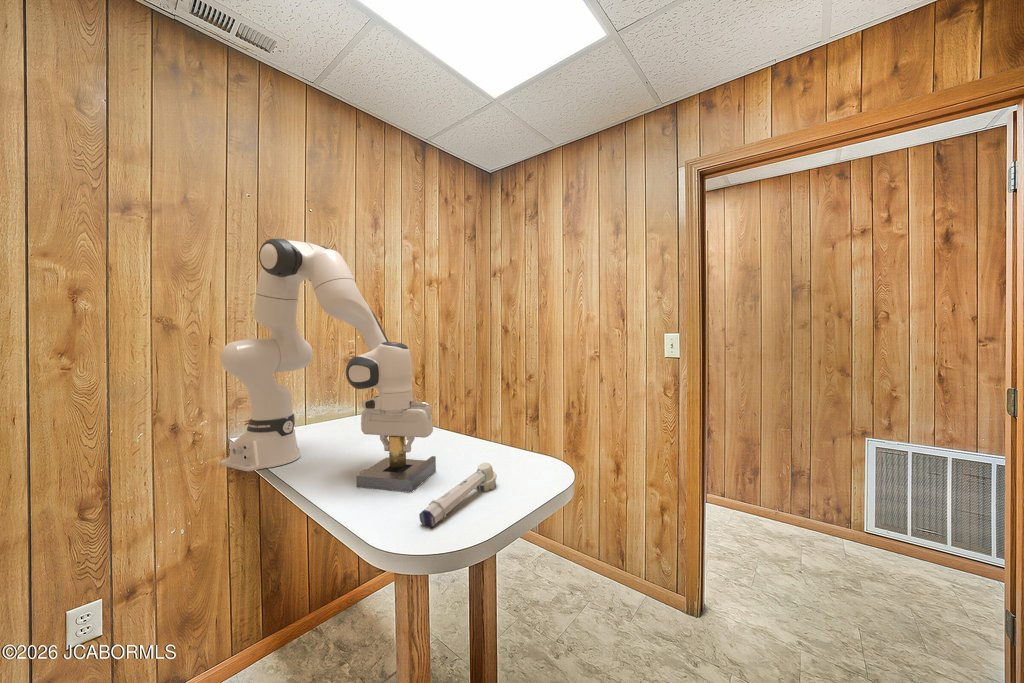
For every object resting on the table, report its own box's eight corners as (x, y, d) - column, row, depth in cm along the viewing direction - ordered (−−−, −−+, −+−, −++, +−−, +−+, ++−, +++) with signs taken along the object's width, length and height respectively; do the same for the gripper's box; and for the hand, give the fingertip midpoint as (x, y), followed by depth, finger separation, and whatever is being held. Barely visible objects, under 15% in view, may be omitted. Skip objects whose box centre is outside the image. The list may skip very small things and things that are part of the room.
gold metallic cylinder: (386, 466, 99) (385, 437, 99) (395, 461, 104) (394, 432, 104) (400, 467, 98) (400, 438, 98) (409, 462, 103) (408, 433, 102)
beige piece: (415, 507, 77) (482, 455, 98) (419, 536, 78) (484, 478, 99) (434, 513, 75) (499, 458, 96) (438, 543, 76) (501, 482, 97)
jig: (356, 486, 96) (355, 470, 96) (386, 467, 110) (386, 452, 110) (411, 492, 93) (411, 475, 93) (435, 471, 106) (435, 456, 106)
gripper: (436, 400, 101) (437, 449, 102) (370, 398, 106) (372, 445, 106) (425, 404, 95) (427, 457, 96) (356, 402, 100) (358, 452, 100)
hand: (397, 451), depth 101 cm, fingers closed on gold metallic cylinder, 4 cm apart
